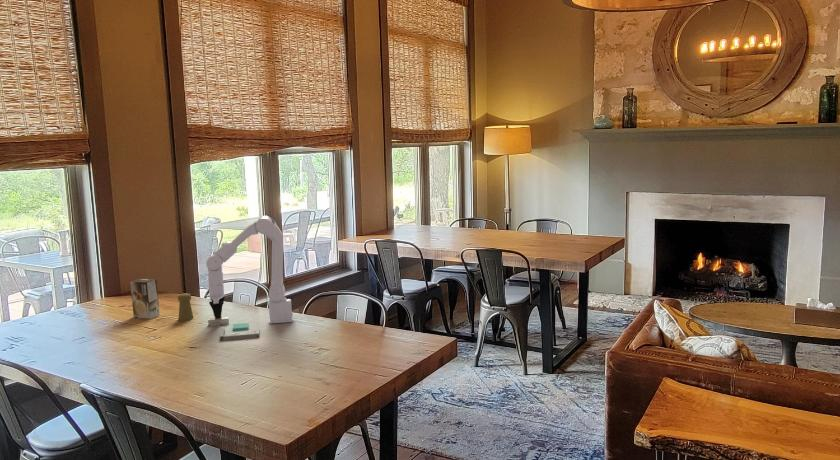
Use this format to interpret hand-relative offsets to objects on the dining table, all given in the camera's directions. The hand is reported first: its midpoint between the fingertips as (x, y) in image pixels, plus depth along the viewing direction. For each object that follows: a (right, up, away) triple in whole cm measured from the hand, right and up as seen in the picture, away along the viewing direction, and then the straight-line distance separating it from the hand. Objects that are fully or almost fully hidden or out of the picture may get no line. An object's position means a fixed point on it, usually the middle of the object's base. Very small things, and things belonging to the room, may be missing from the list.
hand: (218, 316), depth 261 cm
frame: (+13, -5, -13) cm, 19 cm away
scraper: (0, -3, +1) cm, 3 cm away
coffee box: (-35, -2, +13) cm, 38 cm away
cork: (-16, -3, +9) cm, 19 cm away
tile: (+11, -5, -5) cm, 13 cm away
